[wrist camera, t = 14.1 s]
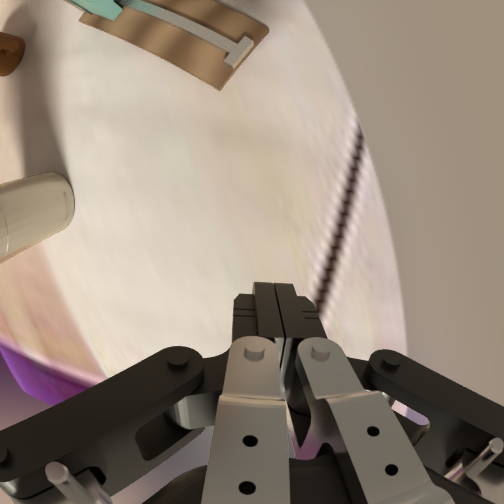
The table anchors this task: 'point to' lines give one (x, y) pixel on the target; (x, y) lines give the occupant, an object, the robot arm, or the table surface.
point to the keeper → (101, 7)
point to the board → (184, 35)
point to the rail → (187, 29)
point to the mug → (10, 53)
